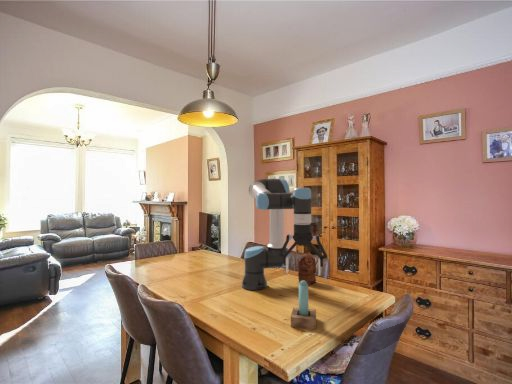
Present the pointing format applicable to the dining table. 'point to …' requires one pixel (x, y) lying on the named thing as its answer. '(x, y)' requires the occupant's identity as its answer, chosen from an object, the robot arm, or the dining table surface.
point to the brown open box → (303, 319)
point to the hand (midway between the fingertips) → (303, 273)
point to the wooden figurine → (307, 269)
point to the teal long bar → (303, 298)
